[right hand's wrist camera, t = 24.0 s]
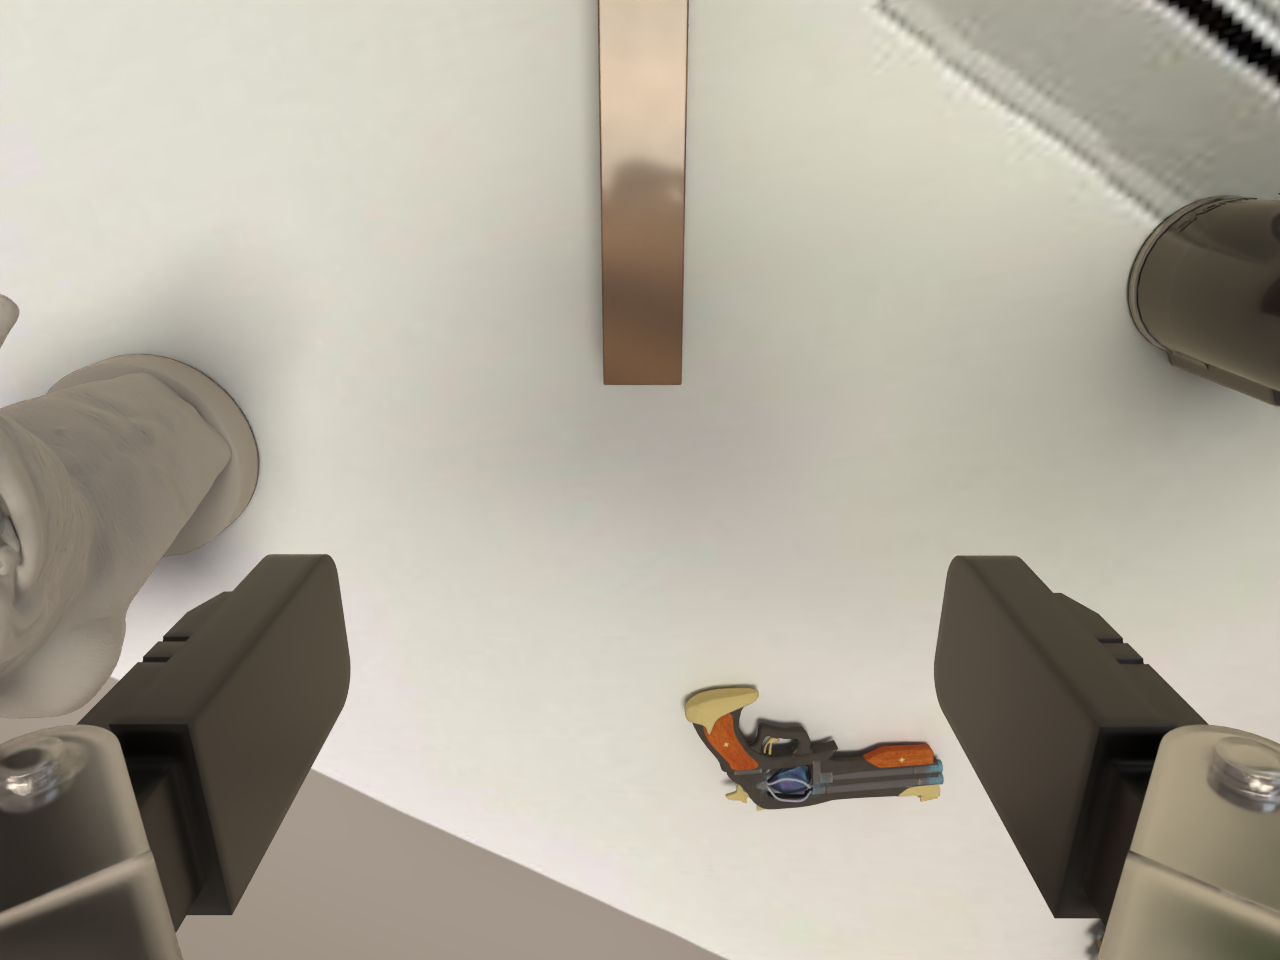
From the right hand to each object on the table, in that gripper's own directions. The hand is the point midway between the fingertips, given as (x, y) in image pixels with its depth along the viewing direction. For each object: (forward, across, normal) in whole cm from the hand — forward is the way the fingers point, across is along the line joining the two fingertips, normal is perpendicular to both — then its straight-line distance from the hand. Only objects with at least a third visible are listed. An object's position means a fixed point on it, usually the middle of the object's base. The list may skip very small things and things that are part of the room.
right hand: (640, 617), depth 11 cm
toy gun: (+42, -13, +35) cm, 56 cm away
